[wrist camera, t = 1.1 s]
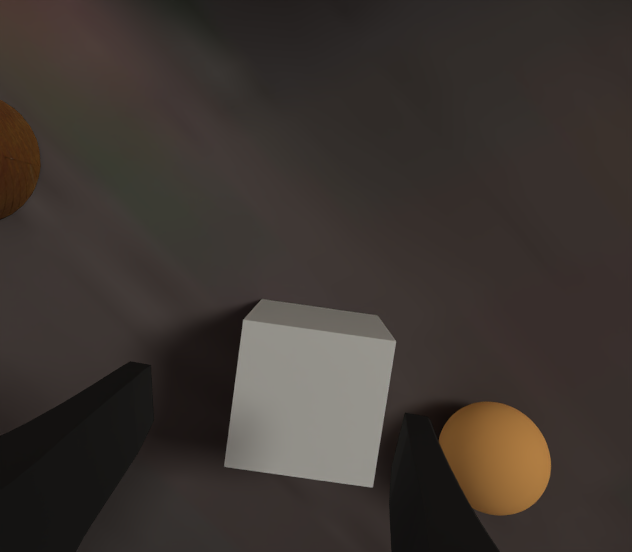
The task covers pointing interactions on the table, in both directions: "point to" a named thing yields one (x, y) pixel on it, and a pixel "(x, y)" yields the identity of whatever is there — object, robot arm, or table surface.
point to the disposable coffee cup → (16, 160)
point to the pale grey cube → (310, 393)
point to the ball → (496, 457)
